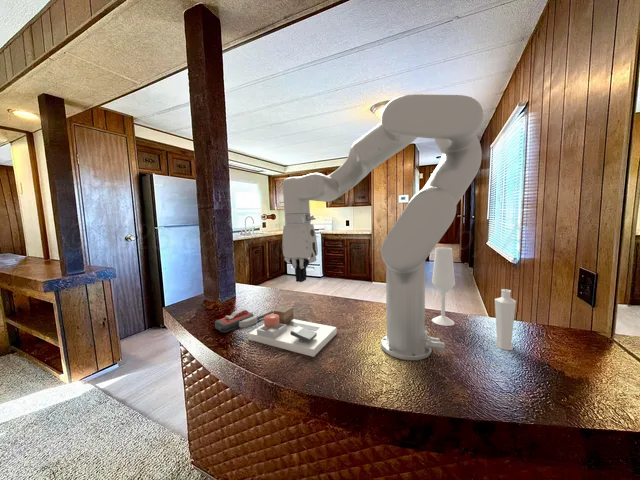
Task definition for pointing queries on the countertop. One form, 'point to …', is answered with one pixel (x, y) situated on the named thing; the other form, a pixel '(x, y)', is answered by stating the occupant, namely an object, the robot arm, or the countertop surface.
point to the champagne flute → (443, 280)
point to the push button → (271, 320)
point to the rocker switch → (303, 333)
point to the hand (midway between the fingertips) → (301, 280)
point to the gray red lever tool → (237, 320)
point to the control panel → (284, 340)
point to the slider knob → (284, 314)
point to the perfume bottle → (504, 319)
